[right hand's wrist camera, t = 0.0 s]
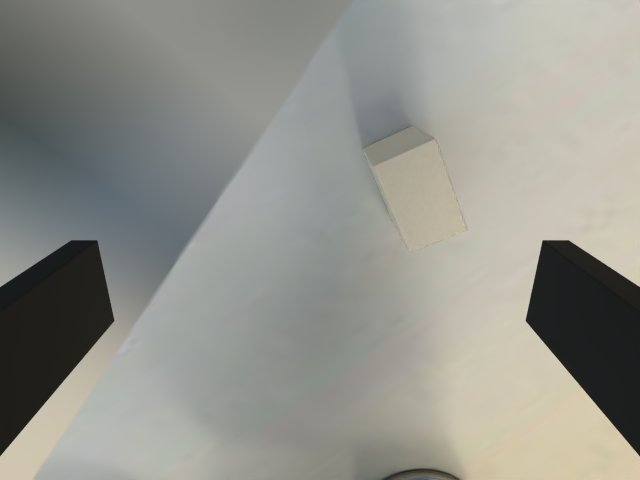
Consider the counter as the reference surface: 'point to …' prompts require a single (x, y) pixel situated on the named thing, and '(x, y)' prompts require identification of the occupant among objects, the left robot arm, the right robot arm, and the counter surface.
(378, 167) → the block
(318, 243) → the counter surface
